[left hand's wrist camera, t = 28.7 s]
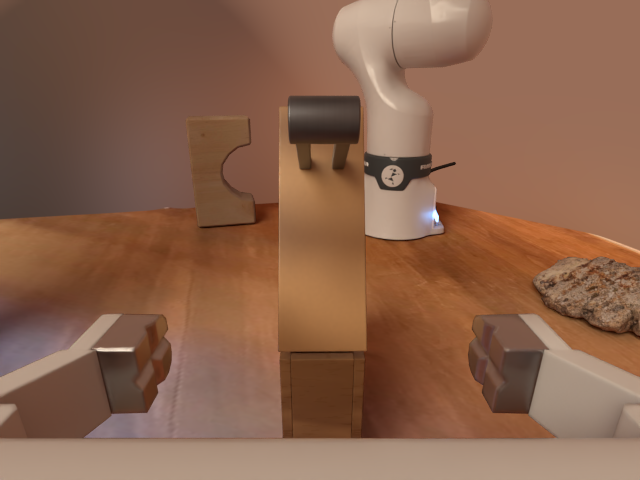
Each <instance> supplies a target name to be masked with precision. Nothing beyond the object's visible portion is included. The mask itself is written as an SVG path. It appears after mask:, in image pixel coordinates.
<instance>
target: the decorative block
mask: <svg viewBox="0 0 640 480" xmlns="http://www.w3.org/2000/svg"><path fill="white" fill-rule="evenodd" d="M186 128H187V137H188V145H189V154H190V162H191V171H192V180H193V188H194V197H195V205H196V214H197V223H198V226H199V227H200V228H201V227H213V226H226V225H239V224H252V223H255V222H256V214H255V201H254V198H253V196H252V194H250V193H244V192H239V191H238V190H236V189H234V188H233V187H231V186H230V185H229V183H228V182H227V181H226V180H225V179H224V176H223V173H222V172H223V164H224V162H225V161H226V159H227V158H228V156H229V155H230V154H231V153H232V152H233V151H235V150H236V149H237V148H239V147H243V146H247V145H250V144H251V131H250V119H249V118H248V117H247V116H189V117H188V118H187V119H186Z"/></svg>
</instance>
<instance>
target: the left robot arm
mask: <svg viewBox="0 0 640 480" xmlns="http://www.w3.org/2000/svg"><path fill="white" fill-rule="evenodd" d="M167 330H168V326H167V321H166V318H165V317H164V316H163V315H156V314H104V315H101V316H100V317H99V318H98V319H97V320H96V321H95V322H94V323H93V324H92V325H91V326H90V327H89V328H88V330H87V331H86V332H85V333H84V334H83V335H82V336H81V337H80V338H79V339H78V340H77V341H76V342H75V343H74V344H73V345H72V346H71V347H70V348H69V349H68V350H60V351H57V352H55V353H53V354H51V355H49V356H46V357H44V358H42V359H40V360H37V361H35V362H33V363H31V364H28V365H26V366H24V367H22V368H20V369H17V370H15V371H13V372H11V373H8V374H6V375H4V376H2V377H0V480H640V377H638V376H636V375H634V374H631V373H629V372H627V371H625V370H623V369H620V368H618V367H616V366H614V365H611V364H609V363H607V362H605V361H603V360H600V359H598V358H596V357H594V356H591V355H589V354H587V353H585V352H583V351H580V350H572V349H571V348H570V347H569V346H568V345H567V344H566V343H565V342H564V341H563V340H562V339H561V338H560V337H559V336H558V335H557V333H556V332H555V331H554V330H553V329H552V328H551V327H550V326H549V325H548V324H547V323H546V322H545V321H544V320H543V319H542V318H541V317H540V316H539V315H536V314H534V313H533V314H503V315H476V316H475V318H474V320H473V326H472V330H473V332H474V333H475V335H476V338H475V339H474V340H473V341H472V342H471V343H470V344H469V352H468V358H469V366H470V370H471V373H472V375H473V377H474V379H475V380H476V381H477V382H479V383H480V384H482V385H483V389H482V394H483V396H484V397H485V399H486V401H487V403H488V405H489V407H490V408H491V410H492V412H493V413H520V414H529V416H530V417H531V418H532V419H534V420H535V421H536V422H537V423H539V424H540V425H541V426H543V427H544V428H545V429H546V430H548V431H549V432H550V433H551V434H553V435H554V436H555V437H556V438H84V437H85V436H86V435H87V434H89V433H90V432H91V431H93V430H94V429H95V428H96V427H98V426H99V425H100V424H101V423H103V422H104V421H105V420H106V419H108V418H109V417H110V416H111V414H120V413H147V412H148V410H149V409H150V407H151V405H152V403H153V401H154V399H155V398H156V396H157V394H158V389H157V385H158V384H160V383H161V382H163V381H164V380H165V379H166V377H167V375H168V373H169V370H170V365H171V361H172V351H171V344H170V343H169V342H168V341H167V340H166V339H165V338H164V335H165V333H166V332H167Z"/></svg>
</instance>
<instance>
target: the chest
mask: <svg viewBox="0 0 640 480" xmlns="http://www.w3.org/2000/svg"><path fill="white" fill-rule="evenodd" d="M364 371H365V356H364V351H339V352H281V353H280V382H281V405H282V428H283V438H361V432H362V412H363V391H364Z"/></svg>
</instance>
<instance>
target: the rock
mask: <svg viewBox="0 0 640 480" xmlns="http://www.w3.org/2000/svg"><path fill="white" fill-rule="evenodd" d="M533 283H534V285H535V287H536V288H537V289H538V291H539V292H540V293H541V294H542V295H543V297H542V300H543V302H544V303H545V305H546V306H547V307H549V308H552V309H554V310H556V311H558V312H559V313H560V314H562V315H565V316H571V317H574V318H584V319H585V320H587V321H588V322H589V323H590V324H592V325H593V326H595V327H598V328H601V329H602V330H607V331H615V332H616V333H618V334H619V333H622V332H627V331H633V332H634V333H635V334H636V335H638V336H640V267H630V266H627V265H626V264H625V263H618V262H616V261H615V260H614V259H609V258H606V257H597V258H595V259H593V260H588V259H583V258H582V259H581V258H577V257H567V258H565V259H562V260H558V262H557V263H556V264H555V265H553V266H552V267H551V268H549V269H547V270H545V271H543V272H541V273H539V274H538V275H537V276H535V278H534V279H533Z"/></svg>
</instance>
